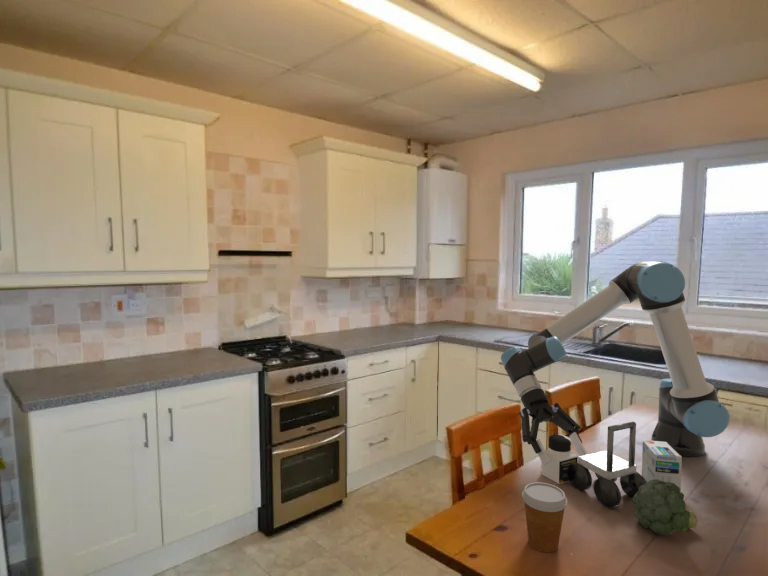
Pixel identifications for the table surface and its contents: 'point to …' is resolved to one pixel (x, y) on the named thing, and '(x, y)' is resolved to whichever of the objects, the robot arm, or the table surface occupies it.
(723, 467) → the table surface
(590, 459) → the trolley
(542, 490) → the disposable coffee cup
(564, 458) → the medicine bottle
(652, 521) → the vegetable
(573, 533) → the table surface
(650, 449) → the light bulb box
